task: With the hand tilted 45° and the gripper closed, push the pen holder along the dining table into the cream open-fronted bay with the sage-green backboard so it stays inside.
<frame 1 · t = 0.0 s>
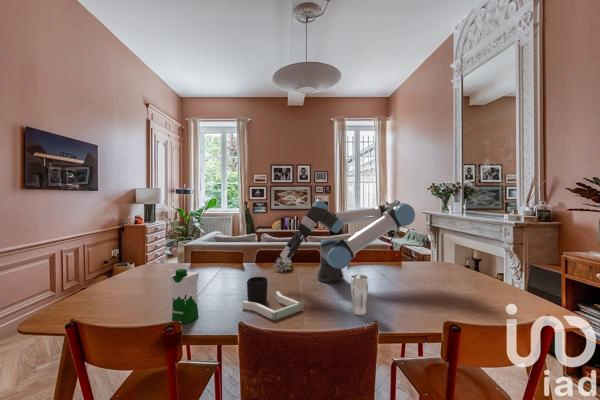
hand: (282, 259, 152), 15 cm above the table, tool tilted 35°, fingers open, 13 cm apart
grey spiky ball: (283, 270, 191), on the table
beer glass: (359, 313, 121), on the table
milk carton: (185, 319, 115), on the table
bay: (276, 309, 124), on the table
pen holder: (257, 301, 135), on the table
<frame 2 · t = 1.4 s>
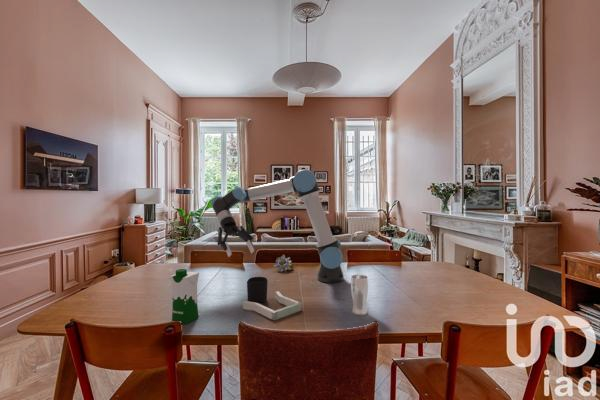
hand: (241, 253, 144), 20 cm above the table, tool tilted 45°, fingers open, 12 cm apart
nothing on the table moved.
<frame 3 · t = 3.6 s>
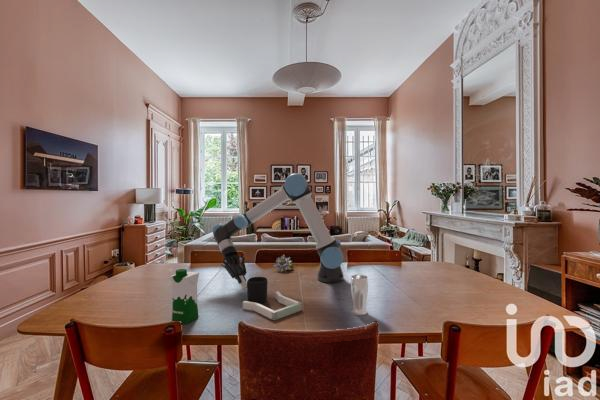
hand: (245, 288, 142), 4 cm above the table, tool tilted 45°, fingers closed
nothing on the table moved.
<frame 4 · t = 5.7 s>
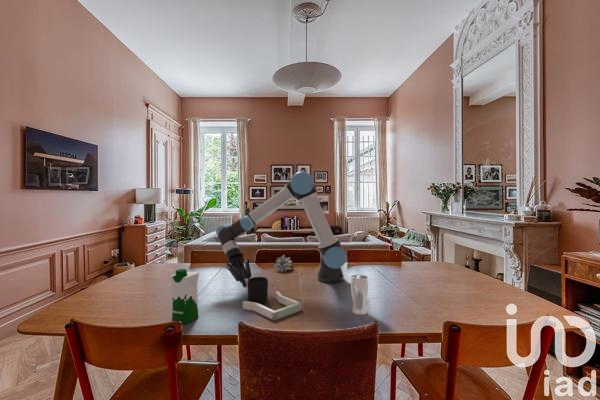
hand: (250, 292, 137), 3 cm above the table, tool tilted 45°, fingers closed
pen holder: (257, 301, 135), on the table, touching gripper
everything else where it was.
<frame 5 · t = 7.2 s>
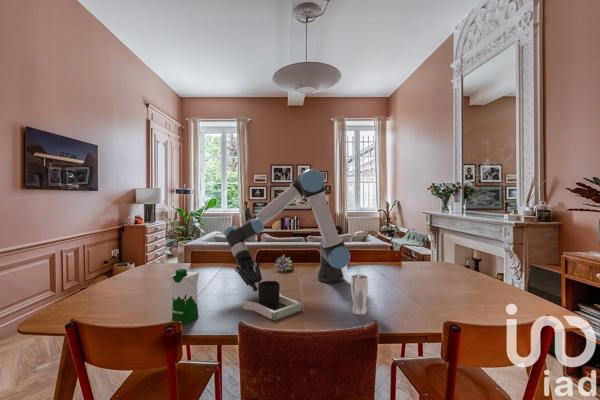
hand: (261, 296, 131), 3 cm above the table, tool tilted 45°, fingers closed
pen holder: (269, 307, 128), on the table, touching gripper
everything else where it was.
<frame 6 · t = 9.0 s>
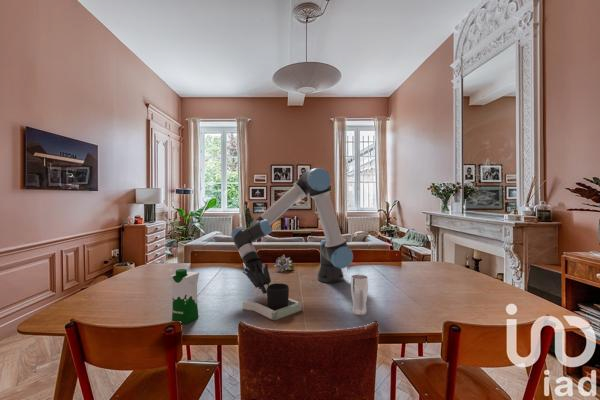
hand: (270, 299, 127), 4 cm above the table, tool tilted 45°, fingers closed
pen holder: (277, 310, 124), on the table
everything else where it was.
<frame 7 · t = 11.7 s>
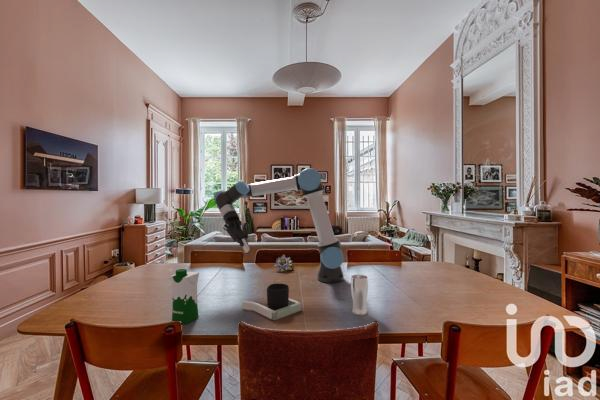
hand: (247, 250, 142), 22 cm above the table, tool tilted 45°, fingers closed
nothing on the table moved.
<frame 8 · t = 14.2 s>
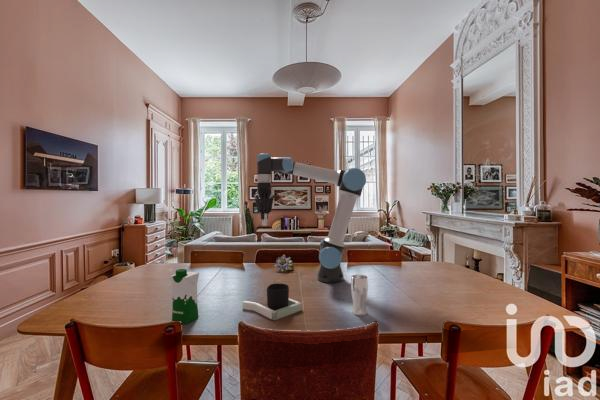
hand: (264, 225, 160), 32 cm above the table, tool pointing down, fingers closed
nothing on the table moved.
at the end: pen holder 0.4 cm from the bay (horizontally); pen holder tilted 0°; pen holder on the table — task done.
